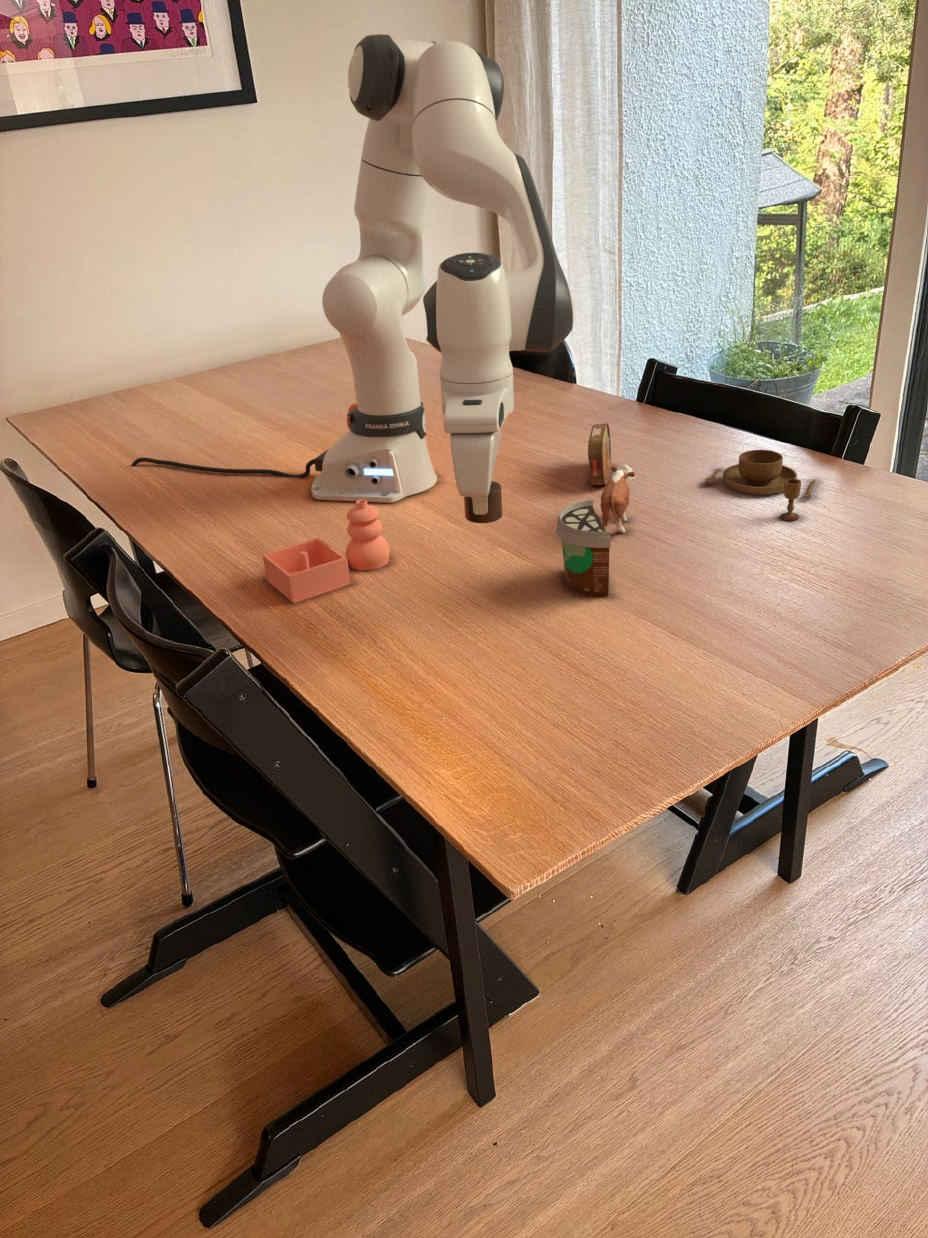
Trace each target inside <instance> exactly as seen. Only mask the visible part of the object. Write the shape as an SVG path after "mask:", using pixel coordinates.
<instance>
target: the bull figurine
mask: <svg viewBox="0 0 928 1238" xmlns="http://www.w3.org/2000/svg"><path fill="white" fill-rule="evenodd" d="M610 471H611V472H613V473H612V476H611V477H610V478H609V479H608V482H607V484H606V485H604V486H605V487H604V488H603V490H602V493H601V495H600V512H601V513H602V525H603V528H604V530H605V532H606V531H607V527H608V526H609V525H608V524H609V520H610V522H611V523H615V527H616V528H617V530H618V532H619V533H621V534H625V533H626V529H625V528H624V526H623V525H624V522H627V521H628V518H627V515H626V511H627V508H628V506H629V504H630V494H631V491H630V486H629V484H628V483H629V482H631V481H635V480H636V473H635V472H634V470H633V468H632V467H630V465H627V464H621V465H620V466H619V467H617V466H611V468H610Z"/></svg>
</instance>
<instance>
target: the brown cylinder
mask: <svg viewBox="0 0 928 1238" xmlns="http://www.w3.org/2000/svg"><path fill="white" fill-rule="evenodd" d="M487 497H488V511H487V513H486V514H482V515H476V514H474V512H473V502H472V498H471V497H463V502H464V503H463V504H464V518H465V519H466V520H467V522H471V523H474V524H489V523H493V522H496V521H499V520H500V519H501V518H502V517H503V500H502V498H503V497H502V485H501V484H500V483H499V482H497V481H494V480H492V482H491V486H490V491H489V494H488V495H487Z"/></svg>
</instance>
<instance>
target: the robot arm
mask: <svg viewBox="0 0 928 1238" xmlns="http://www.w3.org/2000/svg"><path fill="white" fill-rule="evenodd" d="M347 85H348V86H347V87H348V91H349V99H350V102H351V105H352V106H353V107H354V109H355V111H356V112H357V113H358V114H360V115H361V116H363V117H365V118H368V123H367V127H366V129H365V134H364V140H363V144H362V151H361V156H360V157H361V158H360V164H359V170H358V176H357V177H358V178H357V184H356V191H355V199H354V206H353V212H354V215H355V218H356V220H357V222H358V229H359V239H360V248H359V254H358V257H357V259H356V260H355V261H353V262H351V263H348V264H345V265H343V266H342V267H341V268H339V269H338V270H337V272H335V274H334V275H333V276H332V277H331V278H330V280H328V283H327V284H326V285H325V287H324V289H323V293H322V299H321V304H322V309H323V313H324V315H325V317H326V319H327V321H328V323H329V324H330V326H332V328H334V329H335V330H336V331H338V333H339V335H340V338H341V340H342V343H343V345H344V348H345V350H346V353H347V357H348V359H349V363H350V368H351V372H352V379H353V387H354V392H355V400H356V402H355V403H352V404H350V406H349V408H348V409H347V414H346V426H347V427H348V431H345V433H344V434H343V435H341V437H339V439H337V440H336V441H335V442H334V443H333V444H332V445H331V446H330V447H329V448H327V449H326V450H324V451H323V452H321V454H319V455H318V456H317V457H315V458H313V459H311V460H309V461H308V462H307V463H306V464H305V470H304V471H305V472H303V473H300V474H291V473H286V472H283V471H280V470H275V469H267V468H225V467H224V468H222V467H212V466H203V465H195V464H189V463H188V464H187V463H184V462H183V463H182V462H177V461H172V460H165V459H156V458H151V457H146V456H145V457H138V458H136V459H135V460H134V461H133V462H132V463H131V467H137V465H138V464H140V463H151V464H154V465H163V466H171V467H176V468H181V469H186V470H192V471H202V472H209V473H219V474H233V475H235V474H237V475H238V474H240V475H242V474H244V475H245V474H246V475H254V474H255V475H272V476H277V477H282V478H295V479H305V478H307V477H308V476H310V474H311V467H312V466H313V465H314V469H315V472H320V474H318V475H317V476H316V477H315V478H314V480H313V482H312V484H311V487H310V490H311V491H310V492H311V496H312V498H313V499H315V500H319V501H338V502H339V501H341V502H342V501H343V502H356V501H358V500H361V499H364V500H367V503H383V504H384V503H385V504H390V503H396V502H398V501H400V500H402V499H405V498H406V497H409V496H414V495H417V494H420V493H422V492H425V491H427V490H429V489H430V488H432V487H434V486H435V484H437V481H438V476H437V474H436V472H435V469H434V467H433V463H432V459H431V456H430V452H429V447H428V443H427V437H426V436H427V431H428V429H427V428H428V427H427V419H426V418H427V417H426V410H425V406H424V405H425V404H424V402H423V401H422V398H421V389H420V388H421V387H420V379H419V378H420V377H419V370H418V369H419V366H418V360H417V357H416V355H415V354H414V353H413V352H412V351H411V350H410V347H409V344H408V342H407V339H406V336H405V333H404V330H403V325H402V317H403V316H404V315H407V313H410V312H411V311H412V310H413V309H414V308H415V307H416V306H417V304H418V303H419V302H420V300H421V298H422V297H423V298H422V300H423V301H422V302H423V307H424V312H425V320H426V321H425V322H426V331H427V332H426V333H427V335H426V338H425V341H426V343H429V345H431V347H432V348H434V349H435V350H436V351H438V352H439V353H440V354H441V363H440V368H439V383H440V396H441V397H440V398H441V412H442V415H443V430H444V433H446V434H449V441H450V450H451V459H452V465H453V471H454V477H455V484H456V488H457V491H458V494H459V496H461V498H462V497H463V498H464V497H471V498H472V502H473V512H474V514H476V515H482V514H486V513H487V511H488V497H487V495H488V494H489V491H490V486H491V482H492V481H493V478H494V472H495V468H496V464H497V459H498V456H499V451H500V450H499V449H500V446H501V441H502V426H504V424H505V420H506V419H507V417H508V416H509V415H510V414H512V413H513V412H514V410H515V394H514V393H515V391H514V368H513V367H514V366H513V363H512V361H511V357H510V352H516V351H519V352H520V351H525V352H542V353H544V352H546V353H550V352H552V351H553V350H555V349H556V348H557V347H558V346H560V345H561V343H563V342H564V341H565V339H567V337H568V336H569V335H570V334H571V332H572V331H573V327H574V318H575V304H574V299H573V295H572V291H571V289H570V286H569V284H568V281H567V279H566V275H565V272H564V271H563V268H562V266H561V264H560V261H559V259H558V256H557V252H556V249H555V245H554V241H553V238H552V236H551V235H552V234H551V232H550V229H549V224H548V222H547V220H546V219H547V218H546V215H545V212H544V209H543V205H542V203H541V199H540V196H539V192H538V189H537V187H536V184H535V180H534V178H533V175H532V173H531V170H530V167H529V166H528V164H527V162H526V160H525V159H524V157H523V156H521V155H519V154H517V153H515V152H513V151H512V150H511V149H510V148H509V147H508V146H507V145H506V144H505V142H504V140H503V139H502V137H501V136H500V133H499V131H498V127H497V120H498V118H499V116H500V113H501V111H502V106H503V100H504V93H505V81H504V75H503V72H502V70H501V67H500V65H499V64H498V62H497V61H495V60H493V59H492V58H490V56H487V55H485V54H483V53H481V52H478V51H476V50H474V49H473V47H471V46H470V45H468V44H466V43H464V42H461V41H456V40H444V41H435V40H432V41H426V40H421V39H413V38H404V37H403V38H402V37H392V36H390V35H389V34H381V33H380V34H370V35H369V34H368V35H366V36H364V37H363V38H362V39H360V41H359V42H358V43H357V44H356V45H355V47H354V51H353V53H352V56H351V58H350V61H349V65H348V70H347ZM430 188H432V189H433V190H434V191H436V192H437V193H438V194H440V195H442V196H443V197H445V198H447V199H449V200H452V201H454V202H458V203H463V204H468V205H472V206H474V207H479V208H481V209H485V210H488V211H490V212H492V213H494V214H496V215H498V216H500V217H502V218H503V219H504V220H506V222H507V223H508V224H509V226H510V227H511V229H512V232H513V236H514V239H515V242H516V245H517V246H516V247H517V250H518V253H519V256H520V260H521V263H522V267H523V268H521V269H518V270H505V267H504V264H503V262H502V261H501V260H500V259H499V258H498V257H496V256H494V255H491V254H487V253H483V252H464V253H458V254H455V255H453V256H450V257H448V258H445V259H444V260H443V261H442V262H441V263H440V264H439V265H438V268H437V276H436V278H437V279H436V280H435V282H434V283H433V284H432V285H431V286H430V287H429V288H428V290H427V291H426V292H425V290H426V286H427V273H426V270H425V267H424V226H425V225H424V224H425V218H426V217H425V216H426V211H427V206H428V200H429V195H430ZM424 292H425V294H424Z"/></svg>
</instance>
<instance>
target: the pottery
mask: <svg viewBox="0 0 928 1238" xmlns="http://www.w3.org/2000/svg"><path fill="white" fill-rule="evenodd" d="M355 505H356V506H355ZM355 505H354V506H353V507H352V508H350V509H349V510H348V511H347V513H346V520H348V522H349V523H348V525H347V528H346V529H347V535H348V536H349V537H350V538H351V539H350V541H349V542H348V544H347V545H346V548H345V554H346V555H344V554H342V553H341V552H339V551H338V550H337V549H335V548H334V547H332V546H331V545H329V544H328V543H327V542H325V541H324V540H323V539H321V538H320V537H316V538H313V539H309V540H306V541H303V542H300V543H296V544H293V545H290V546H287V547H283V548H279V549H277V550H273V551H270V552H267V553H264V554H261V555H262V560H263V565H264V571H265V578H266V581H267V582H268V583H269V584H271V586H273V588H275V589H276V590H277V591H279V592H280V593H281V594H282V595H283V596H284V597H286V598H287V599H288V600H289V601H290V603H291V602H292V604H296V603H299V602H302V601H305V600H308V599H311V598H314V597H317V596H320V595H323V594H326V593H329V592H332V591H335V590H338V589H341V588H344V587H347V586H351V584H352V583H351V575H350V569H349V566H350V568H351V569H354V570H357V571H372V570H373V571H375V570H377V569H381V568H383V567H384V566H386V565H387V564H388V563H389V560H390V553H391V549H390V545H389V543H388V541H387V540H386V539H385V538H384V537H383V536H382V533H383V524H382V521H381V520H380V519H379V517H380V515H381V514H380V510H379V509H378V508H377V507H376V506H374V505H372V504H368V502H367V500H364V499H361V500H358V501H355Z"/></svg>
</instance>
